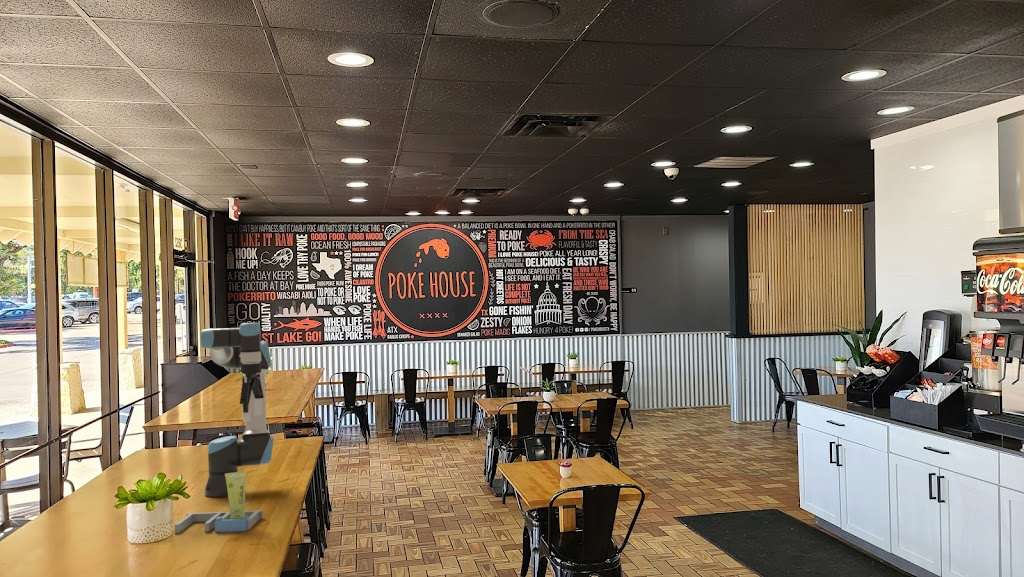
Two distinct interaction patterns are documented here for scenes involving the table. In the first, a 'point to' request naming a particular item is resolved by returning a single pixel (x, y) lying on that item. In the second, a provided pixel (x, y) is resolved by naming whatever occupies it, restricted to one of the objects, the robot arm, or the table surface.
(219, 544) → the table surface
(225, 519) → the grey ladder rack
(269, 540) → the table surface
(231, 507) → the tube
